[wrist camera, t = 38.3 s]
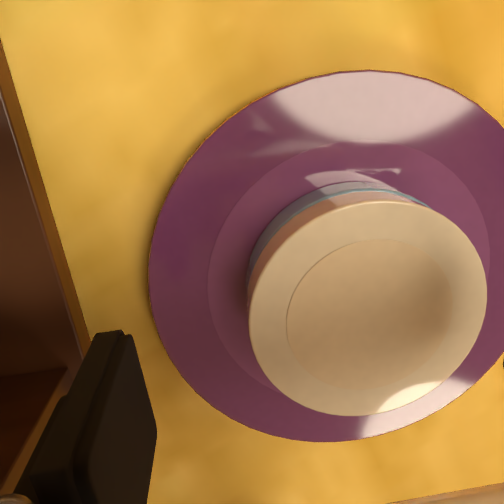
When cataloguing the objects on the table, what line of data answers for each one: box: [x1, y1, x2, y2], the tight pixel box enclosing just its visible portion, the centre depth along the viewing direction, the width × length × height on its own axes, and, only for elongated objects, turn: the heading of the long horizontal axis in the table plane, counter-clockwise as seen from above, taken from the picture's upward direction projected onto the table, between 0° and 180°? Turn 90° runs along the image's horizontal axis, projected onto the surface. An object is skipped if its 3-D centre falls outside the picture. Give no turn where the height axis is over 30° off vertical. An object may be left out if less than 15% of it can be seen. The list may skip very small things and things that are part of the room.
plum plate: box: [148, 70, 504, 442], centre depth 15 cm, size 14×14×1 cm
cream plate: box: [246, 191, 487, 416], centre depth 13 cm, size 7×7×1 cm
